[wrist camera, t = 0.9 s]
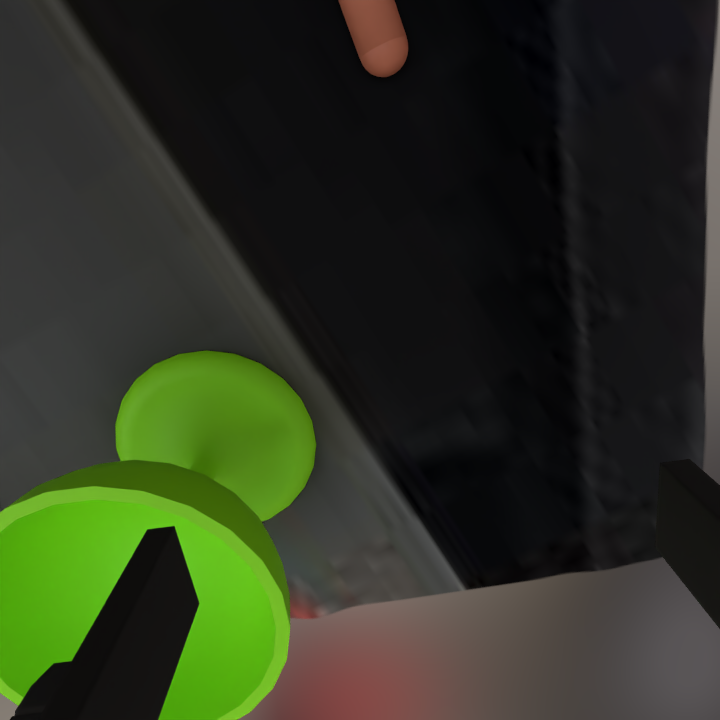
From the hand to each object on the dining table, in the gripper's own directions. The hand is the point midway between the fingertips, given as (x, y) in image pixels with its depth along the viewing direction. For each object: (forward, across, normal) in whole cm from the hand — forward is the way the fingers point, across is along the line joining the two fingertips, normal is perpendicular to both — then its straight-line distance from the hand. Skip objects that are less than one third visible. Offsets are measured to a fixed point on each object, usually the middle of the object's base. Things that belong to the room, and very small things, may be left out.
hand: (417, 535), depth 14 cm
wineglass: (+26, -14, -10) cm, 31 cm away
